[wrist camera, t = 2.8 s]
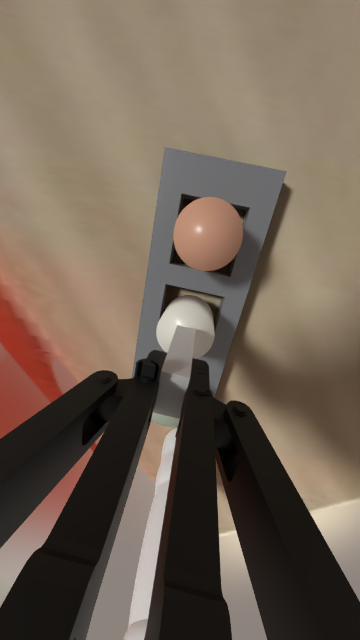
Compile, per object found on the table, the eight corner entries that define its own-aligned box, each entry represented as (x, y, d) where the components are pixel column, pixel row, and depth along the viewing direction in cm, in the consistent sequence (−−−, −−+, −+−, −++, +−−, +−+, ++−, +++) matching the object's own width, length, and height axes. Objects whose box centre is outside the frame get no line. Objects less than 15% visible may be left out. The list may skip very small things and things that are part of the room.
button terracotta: (185, 200, 19) (180, 190, 15) (243, 212, 18) (252, 204, 15) (174, 259, 20) (167, 263, 17) (227, 270, 20) (231, 277, 16)
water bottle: (221, 432, 30) (281, 1153, 6) (204, 466, 32) (198, 1068, 9) (172, 416, 30) (47, 1076, 6) (159, 450, 32) (32, 1014, 9)
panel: (168, 156, 19) (164, 147, 18) (278, 178, 19) (286, 171, 17) (132, 399, 29) (127, 410, 27) (204, 417, 29) (204, 429, 27)
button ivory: (169, 290, 21) (161, 300, 18) (218, 301, 21) (221, 314, 17) (160, 335, 23) (152, 353, 19) (206, 345, 23) (206, 365, 19)
